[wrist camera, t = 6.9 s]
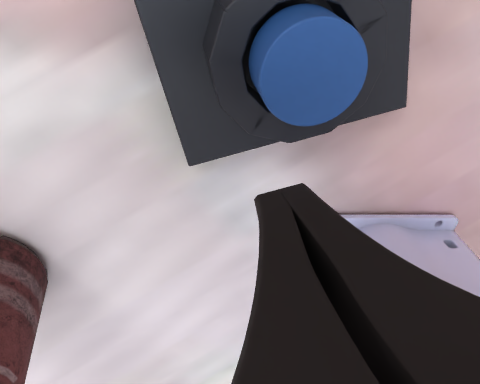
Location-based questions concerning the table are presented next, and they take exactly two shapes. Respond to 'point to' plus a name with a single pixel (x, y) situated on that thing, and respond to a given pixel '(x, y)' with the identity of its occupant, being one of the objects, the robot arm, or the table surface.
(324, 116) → the blue button cap
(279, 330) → the robot arm
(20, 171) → the table surface
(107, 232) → the table surface
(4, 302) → the can
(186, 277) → the table surface
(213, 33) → the button base
